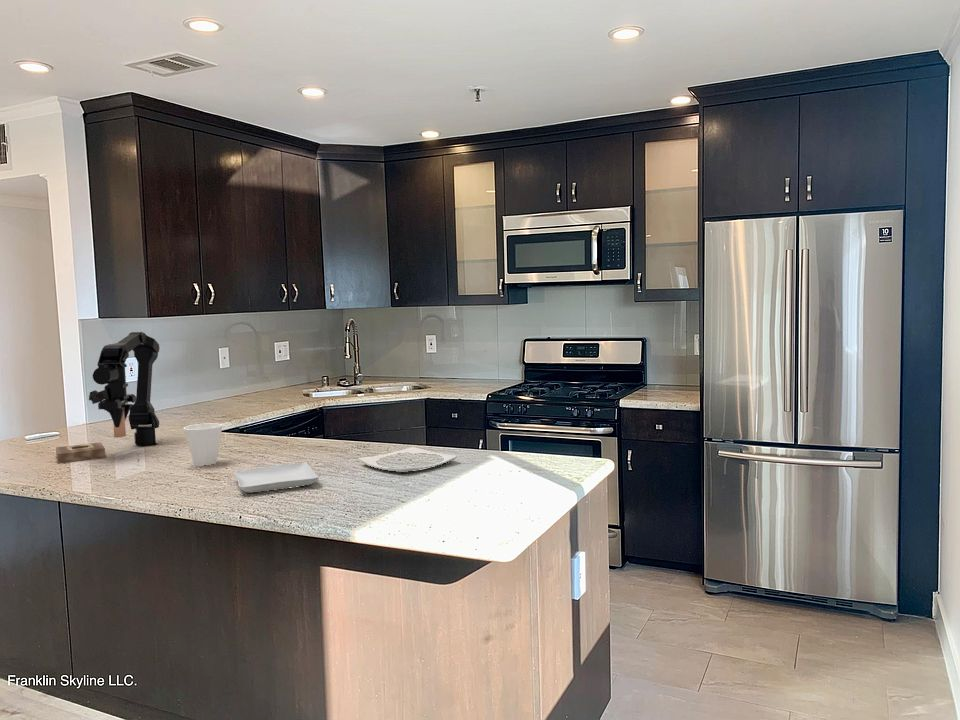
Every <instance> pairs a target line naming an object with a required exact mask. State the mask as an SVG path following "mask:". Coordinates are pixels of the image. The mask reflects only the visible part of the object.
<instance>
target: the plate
mask: <svg viewBox="0 0 960 720" xmlns="http://www.w3.org/2000/svg"><path fill="white" fill-rule="evenodd" d="M405 452H410V453H427V454H437V455H440V456H442V457H443V458H444V460H443V461H442V462H440V463H436V464H433V465H428V466H423V467H418V468H388V467H382V466H379V465H377V463H376V461H378V460H379V459H380V458H383V457H386V456H390V455H393V454H397V453H405ZM457 458H458V455H454V454H445V453H440V452H439V453H438V452H434V451H429V450H425V449H422V448H419V447H414V446H410V447H408V448H407V447H406V448H404V449H401V450H397V451H394V452H388V453H384V454H379V455H374V456H365V457H358V461H360V462H361V463H362V464H364V465H367V466H368V467H370V466H371V468H373V467H374V469H377V468H378V469H377V470H380V469H382V470H381V471H383V470H388V471H387V472H389V471H396V472H395V473H401V472H406V473H408V472H407V471H413V470H419V469H423V468H428V467H432V466H436V465H440V464H443V463H446V462H448V463H450V462H449V461H451V462H453V461H455V460H456V459H457ZM452 460H453V461H452ZM446 464H447V463H446Z"/></svg>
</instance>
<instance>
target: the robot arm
mask: <svg viewBox="0 0 960 720" xmlns="http://www.w3.org/2000/svg"><path fill="white" fill-rule="evenodd" d="M131 351H132V352H133V353H134V354H133V355H134V358H135V359H136V361H137V363H138V366H137V378H136V379H137V380H136V393H135V394H136V395H135V394H134V393H131V394H130V393H127V387H129V383H128V382H127V380H126V367H127V364H126V361H127V359H128V358H129V357H130V355H129V353H130V352H131ZM159 352H160V344H159V343H158V341H157V340H156V339H155V338H153V337H151V336H149V335H147V334H146V332H143V331H134V332H133V331H131V332H130V333H128V335H126V337H124V338H122V339H121V340H120V341H118V342H116V343H115V342H114V343H110V344H105V345H103V347H102V349H101V350H100V355H99V358H98V361H97V368H96V369H94V371H93V373H92V380H93V381H94V382H95V383H96V384H98V385H101V386H102V385H104V388H103V390H100V391H98V390H96V389H94V390H92V391H90V392H89V395H88V397H89V398H88V401H91V404H92V405H94V404H97V407H98V408H97V409H98V410H104V411H106V412H107V413H109V415H110V416H111V420H112V422H114V425H115V427H119V426H120V423H121V419H122V415H123V412H124V414H125V421H126V420H127V417H128V421H129V422H128V423H129V425H130V429H131V430H135V432H134V433H133V436H134V437H133V438H134V444H135V445H136V446H137V447H145V446H146V447H147V446H152V445H157V444H158V443H157V442H156V441H157V440H156V429H159V427H160V420H159V418H158V416H157V415H156V413H155V408H154V406H153V404H152V403H151V396H152V395H151V393H152V381H153V380H152V379H153V366H154V363H155V361H157V359H158V356H159ZM132 403H133V404H132ZM114 425H113V426H114Z"/></svg>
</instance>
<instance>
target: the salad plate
mask: <svg viewBox="0 0 960 720" xmlns="http://www.w3.org/2000/svg"><path fill="white" fill-rule="evenodd" d="M233 475H234V476H235V478H236V480H237V484H238V488H239V489H240V490H242V492H245V493H248V494H249V493H250V494H252V493H253V492H259V493H262V492H261V491H267V490H274V489H282V488H289V487H296V486H303V485H307V486H310V485H313V484H314V483H315V482H317V481H318V480H319V478H320V477H319V475H318V474H317V473H316V472H315V470H313V469H312V467H311V466H310V465H309V464H308V463H307V461H306V462H305V461H303V462H298V463H297V462H296V463H288V464H286V463H285V464H279V465H270V466H269V465H268V466H262V467H254V468H245V469H240V470H234V471H233ZM267 492H268V491H267ZM253 494H254V493H253Z"/></svg>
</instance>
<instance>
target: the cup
mask: <svg viewBox="0 0 960 720" xmlns="http://www.w3.org/2000/svg"><path fill="white" fill-rule="evenodd" d="M222 429H223V424H222V423H215V422H209V423H208V422H207V423H205V422H204V423H196V424H190V425H186V426H184V427H183V430H184V435H185V439H186V443H187V445H188V448H189V452H190V455H191V456H190V457H191V459H192V463H193V466H194V465H196V466H195V467H204V466H203V465H210V464H214V463H216V462H218V455H219V450H220V443H221V437H222V431H223V430H222ZM216 464H217V463H216ZM214 465H215V464H214ZM210 466H211V465H210Z"/></svg>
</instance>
